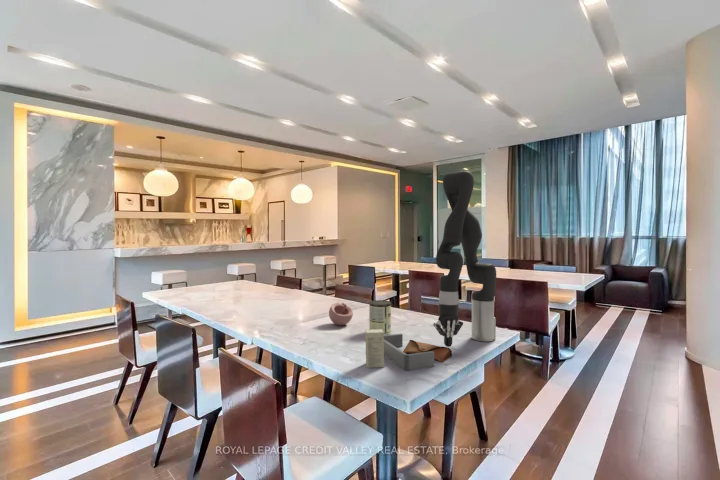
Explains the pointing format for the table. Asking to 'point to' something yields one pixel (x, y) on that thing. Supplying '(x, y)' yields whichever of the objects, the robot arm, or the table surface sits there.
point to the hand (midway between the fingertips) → (448, 346)
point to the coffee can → (380, 315)
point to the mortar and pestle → (340, 313)
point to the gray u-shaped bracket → (406, 359)
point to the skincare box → (374, 348)
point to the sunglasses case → (418, 347)
